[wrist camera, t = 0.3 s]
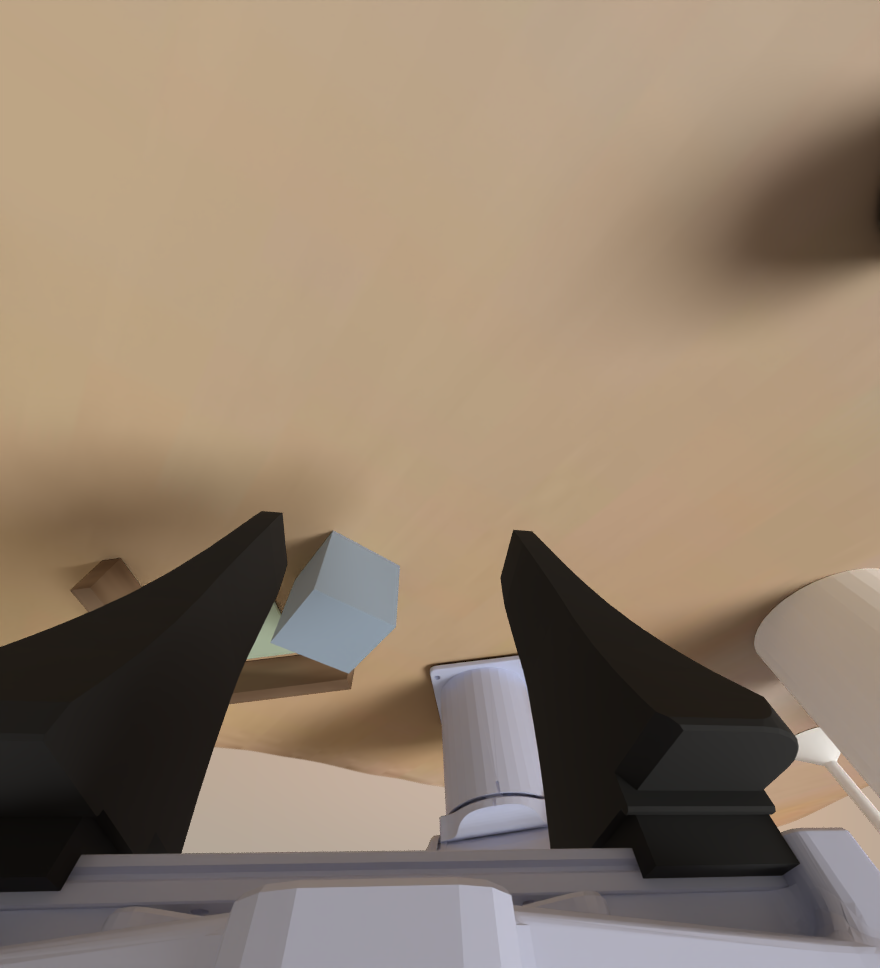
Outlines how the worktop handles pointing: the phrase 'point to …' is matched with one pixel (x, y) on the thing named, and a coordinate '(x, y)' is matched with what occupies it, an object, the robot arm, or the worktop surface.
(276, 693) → the wooden l-bracket
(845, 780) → the champagne flute
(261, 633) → the pad
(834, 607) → the bottle
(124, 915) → the robot arm
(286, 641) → the cube
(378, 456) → the worktop surface
